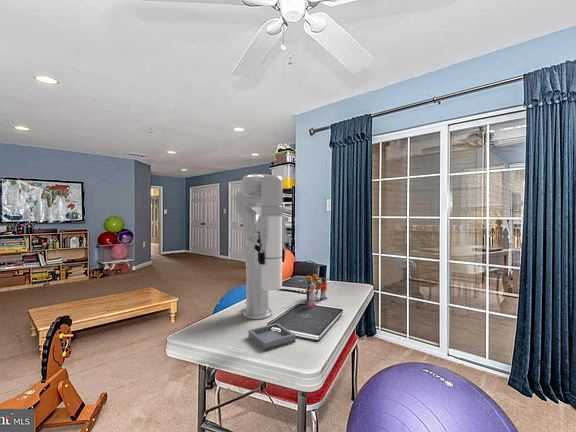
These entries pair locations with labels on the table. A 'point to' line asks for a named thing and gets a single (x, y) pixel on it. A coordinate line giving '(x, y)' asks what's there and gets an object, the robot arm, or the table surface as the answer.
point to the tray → (271, 336)
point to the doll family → (315, 289)
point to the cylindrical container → (273, 256)
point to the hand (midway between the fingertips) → (271, 262)
